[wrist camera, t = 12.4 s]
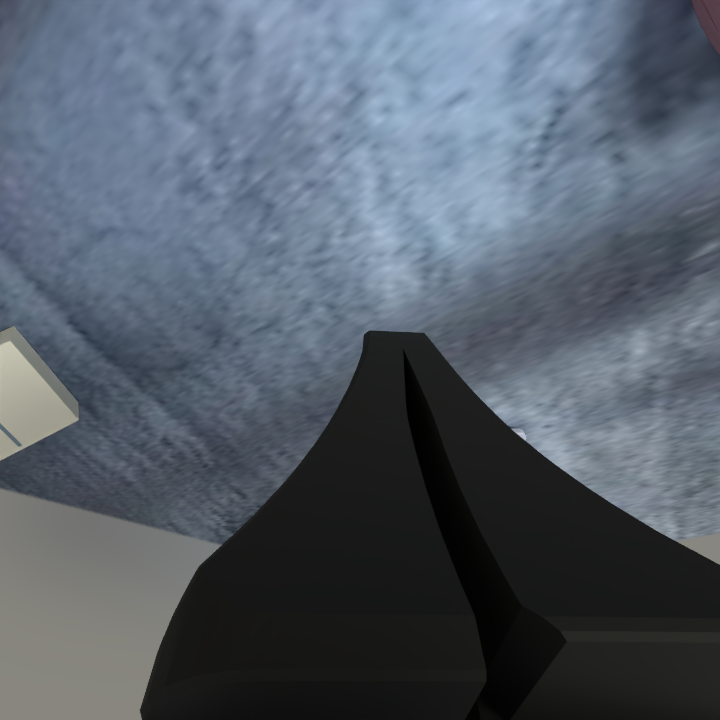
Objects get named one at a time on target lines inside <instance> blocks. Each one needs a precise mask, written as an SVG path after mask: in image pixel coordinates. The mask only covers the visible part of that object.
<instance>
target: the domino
mask: <svg viewBox="0 0 720 720" xmlns="http://www.w3.org/2000/svg"><path fill="white" fill-rule="evenodd" d="M78 420H79V406H78V401H77V400H76V399H75V398H74V397H73V395H72V394H71V393H70V392H69V391H68V390H67V388H66V387H65V386H64V385H63V384H62V382H61V381H60V380H59V379H58V378H57V376H56V375H55V374H54V373H53V372H52V370H51V369H50V368H49V367H48V366H47V365H46V363H45V362H44V361H43V360H42V359H41V357H40V356H39V355H38V354H37V353H36V351H35V350H34V349H33V348H32V347H31V346H30V344H29V343H28V342H27V341H26V340H25V338H24V337H23V336H22V335H21V334H20V332H19V331H18V330H17V329H16V328H15V327H14V326H13V327H10V328H8V329H6V330H4V331H1V332H0V461H1V460H3V459H5V458H7V457H8V456H10V455H12V454H14V453H16V452H18V451H20V450H22V449H24V448H26V447H28V446H30V445H32V444H34V443H36V442H38V441H39V440H41V439H43V438H45V437H47V436H49V435H51V434H53V433H55V432H57V431H59V430H61V429H63V428H65V427H67V426H69V425H70V424H72V423H74V422H76V421H78Z"/></svg>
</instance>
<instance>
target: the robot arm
mask: <svg viewBox="0 0 720 720" xmlns="http://www.w3.org/2000/svg"><path fill="white" fill-rule="evenodd" d="M525 440H526V435H525V433H524V431H523V430H521V429H513V428H510V427H509V426H507V425H506V424H505V423H504V422H503V421H502V420H501V419H500V418H499V417H498V416H497V415H496V414H495V413H494V412H493V411H492V410H491V409H490V408H489V407H488V406H487V405H486V404H485V403H484V402H483V401H482V400H481V399H480V398H479V397H478V396H477V395H476V394H475V393H474V392H473V391H472V390H471V389H470V387H469V386H468V385H467V384H466V383H465V382H464V381H463V380H462V378H461V377H460V376H459V375H458V374H457V373H456V371H455V370H454V369H453V368H452V367H451V365H450V364H449V363H448V362H447V360H446V359H445V358H444V357H443V356H442V354H441V353H440V352H439V351H438V349H437V348H436V347H435V346H434V344H433V343H432V342H431V341H430V339H429V338H428V337H427V336H426V335H425V333H412V332H389V331H368V332H367V333H366V334H364V339H363V350H362V354H361V357H360V360H359V363H358V366H357V369H356V371H355V373H354V376H353V378H352V381H351V383H350V385H349V387H348V389H347V391H346V393H345V395H344V397H343V399H342V401H341V403H340V404H339V406H338V408H337V410H336V412H335V414H334V415H333V417H332V419H331V420H330V422H329V423H328V425H327V427H326V428H325V430H324V431H323V433H322V434H321V436H320V437H319V439H318V440H317V442H316V443H315V444H314V446H313V447H312V448H311V450H310V451H309V452H308V454H307V455H306V456H305V458H304V459H303V460H302V462H301V463H300V464H299V465H298V467H297V468H296V469H295V470H294V472H293V473H292V474H291V475H290V476H289V478H288V479H287V480H286V481H285V482H284V483H283V484H282V486H281V487H280V488H279V489H278V490H277V491H276V492H275V493H274V494H273V495H272V496H271V497H270V498H269V500H268V501H267V502H266V503H265V504H264V505H263V506H262V507H261V508H260V509H259V510H258V511H257V513H256V514H255V515H254V516H253V517H252V518H251V519H250V520H249V521H248V522H247V523H246V524H245V525H243V526H242V527H241V528H240V529H239V530H238V531H237V532H236V533H235V534H234V535H233V536H232V537H230V538H229V539H228V540H227V541H226V542H225V543H224V544H223V545H222V546H221V547H220V548H218V549H217V550H216V551H215V552H214V553H213V554H212V555H211V556H210V557H209V558H208V559H207V560H205V561H204V562H203V563H202V564H201V565H200V566H199V567H198V569H197V571H196V572H195V574H194V576H193V578H192V579H191V581H190V583H189V585H188V587H187V589H186V591H185V593H184V594H183V596H182V598H181V600H180V602H179V604H178V606H177V608H176V610H175V612H174V614H173V616H172V619H171V621H170V623H169V626H168V628H167V631H166V633H165V635H164V637H163V640H162V642H161V645H160V647H159V650H158V653H157V656H156V659H155V662H154V666H153V669H152V673H151V676H150V679H149V682H148V686H147V689H146V692H145V696H144V699H143V702H142V706H141V709H140V713H141V717H142V720H720V565H719V564H717V563H715V562H713V561H711V560H710V559H708V558H706V557H704V556H702V555H700V554H698V553H697V552H695V551H693V550H691V549H689V548H687V547H685V546H684V545H682V544H680V543H678V542H676V541H674V540H672V539H670V538H669V537H667V536H665V535H663V534H661V533H659V532H658V531H656V530H654V529H653V528H651V527H649V526H648V525H646V524H644V523H643V522H641V521H639V520H638V519H636V518H634V517H633V516H631V515H629V514H628V513H626V512H625V511H623V510H621V509H620V508H618V507H616V506H615V505H613V504H611V503H610V502H608V501H607V500H605V499H604V498H602V497H601V496H599V495H598V494H596V493H595V492H593V491H592V490H590V489H589V488H587V487H586V486H584V485H583V484H581V483H580V482H579V481H577V480H576V479H574V478H573V477H572V476H570V475H569V474H567V473H566V472H565V471H563V470H562V469H560V468H559V467H558V466H556V465H555V464H554V463H552V462H551V461H550V460H548V459H547V458H546V457H544V456H543V455H542V454H541V453H539V452H538V451H537V450H536V449H534V448H533V447H532V446H531V445H530V444H528V443H527V442H526V441H525Z"/></svg>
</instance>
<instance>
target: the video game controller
mask: <svg viewBox="0 0 720 720" xmlns="http://www.w3.org/2000/svg"><path fill="white" fill-rule="evenodd" d="M691 1H692V5H693V8H694V11H695V13H696V15H697V18H698V20H699V23H700V25H701V27H702V29H703V31H704V32H705V34H706V36H707V38H708V39H709V41H710V43H711V44H712V46H713V47H714V48H715V50H716V51H717V52H718V53H719V55H720V0H691Z"/></svg>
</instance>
